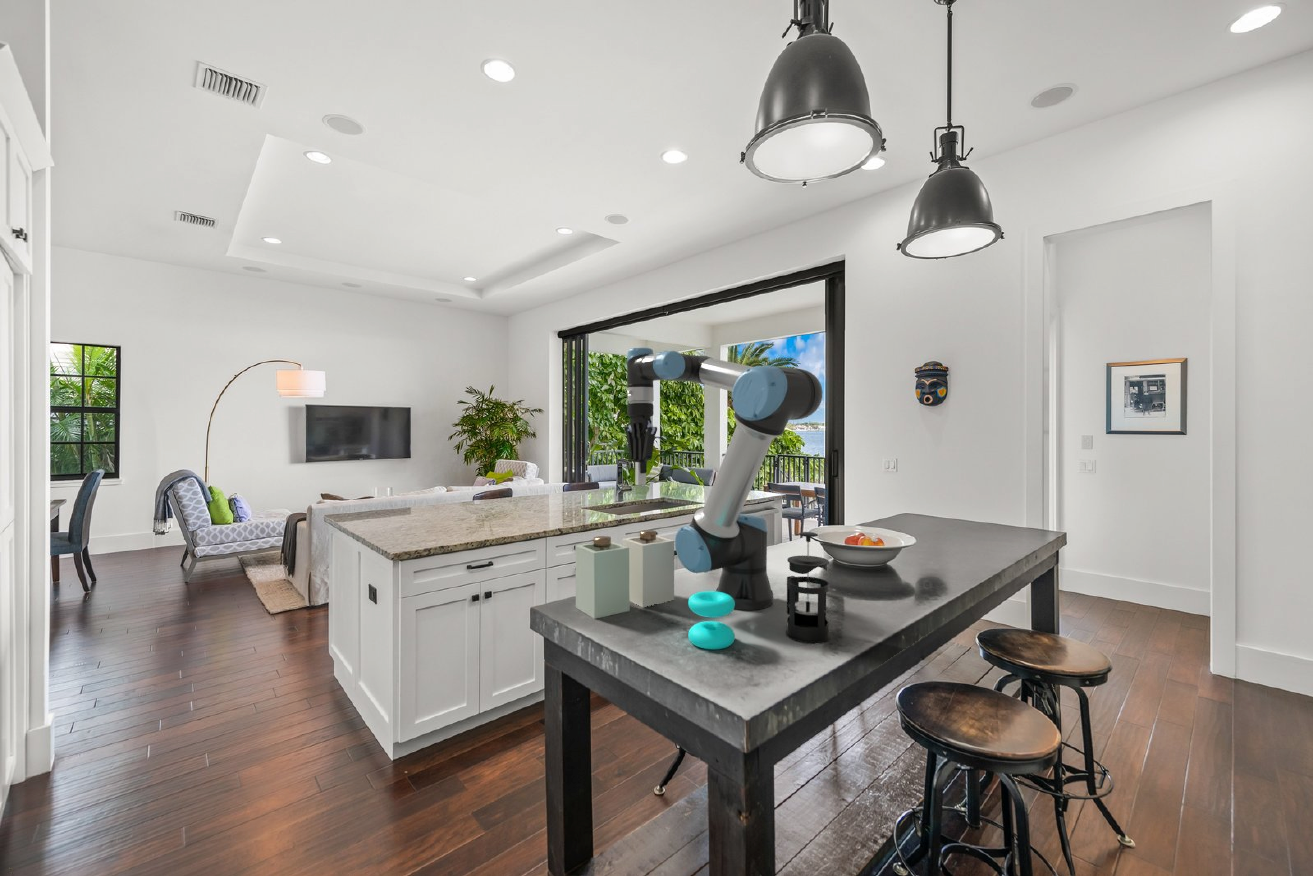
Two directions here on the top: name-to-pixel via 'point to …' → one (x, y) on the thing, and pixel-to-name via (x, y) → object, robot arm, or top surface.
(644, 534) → the plunger
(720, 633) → the donuts
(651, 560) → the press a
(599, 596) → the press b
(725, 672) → the top surface
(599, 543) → the plunger
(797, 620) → the french press
